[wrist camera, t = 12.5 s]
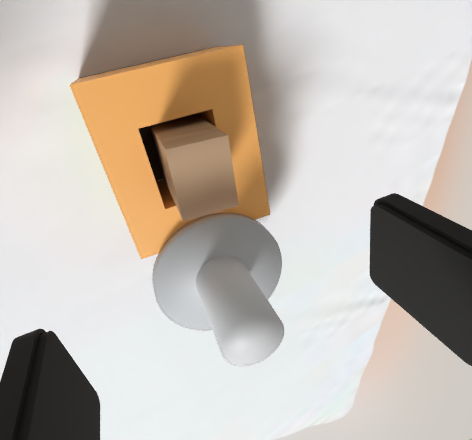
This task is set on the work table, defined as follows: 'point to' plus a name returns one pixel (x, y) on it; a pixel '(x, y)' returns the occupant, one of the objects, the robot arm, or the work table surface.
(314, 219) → the work table surface
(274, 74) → the work table surface
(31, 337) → the robot arm
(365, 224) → the work table surface
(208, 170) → the tan wooden block
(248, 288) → the orange block with cylinder
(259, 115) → the work table surface
